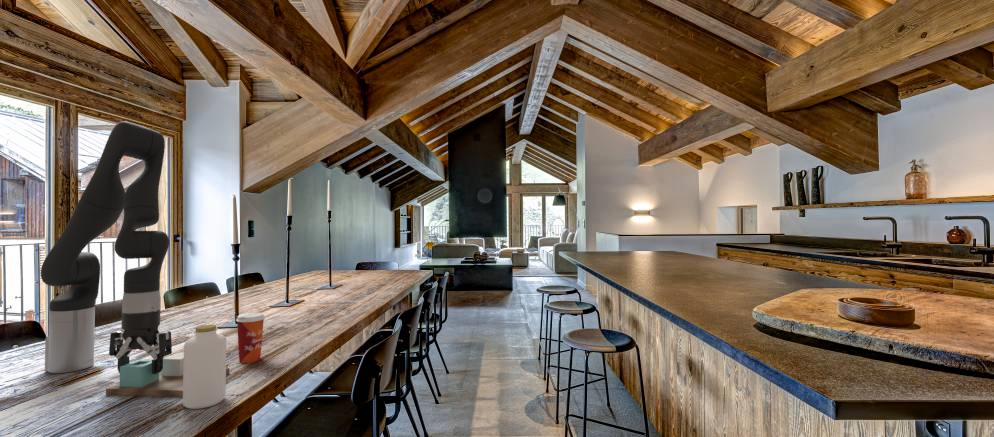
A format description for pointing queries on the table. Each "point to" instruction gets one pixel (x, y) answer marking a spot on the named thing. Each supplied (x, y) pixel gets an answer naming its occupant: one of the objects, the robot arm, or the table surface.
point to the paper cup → (250, 336)
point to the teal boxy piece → (137, 374)
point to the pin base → (153, 387)
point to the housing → (173, 365)
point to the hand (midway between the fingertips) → (140, 372)
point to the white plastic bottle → (204, 368)
